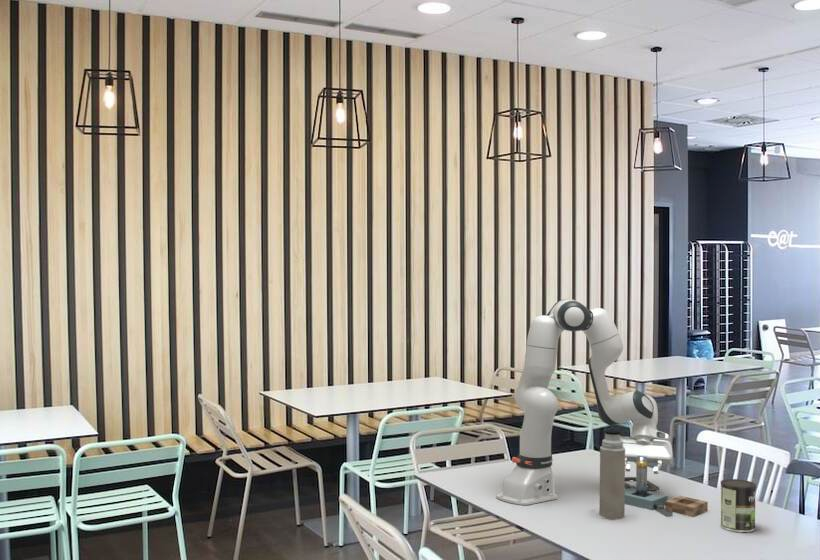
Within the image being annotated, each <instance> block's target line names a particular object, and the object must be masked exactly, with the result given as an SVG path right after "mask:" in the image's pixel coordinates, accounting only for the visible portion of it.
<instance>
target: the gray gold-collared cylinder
mask: <svg viewBox="0 0 820 560" xmlns="http://www.w3.org/2000/svg"><path fill="white" fill-rule="evenodd" d="M635 465H636V466H635V469H636V472H635V475H636V476H635V477H636V481H635V482H636V483H635V487H636V496H641V497H647V480H648V463H647V456H641V455H640V456H636V462H635Z"/></svg>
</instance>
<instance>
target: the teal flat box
mask: <svg viewBox="0 0 820 560" xmlns="http://www.w3.org/2000/svg"><path fill="white" fill-rule="evenodd" d="M668 498H669V497H668V495H667V494H662V493H659V492H658V493H657V492H655V491H653V492H649V491H647V497H641V496H636V488H626V489H625V505H629V506H633V507H638V508H641V507H642V508H641V509H645V508H646V509H647V510H650V511H655V510H654V504H661V505H663V506H664V507H665V501H667V500H668Z"/></svg>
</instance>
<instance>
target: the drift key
mask: <svg viewBox="0 0 820 560" xmlns="http://www.w3.org/2000/svg"><path fill="white" fill-rule="evenodd" d="M653 511H656V512H658V513H660V514H661V515H664V516H665V517H666V518H667V517H668V518H669V517H673V512H671V511H669V510H667V509H665V505H664V506H663V505H661V504H654V510H653Z"/></svg>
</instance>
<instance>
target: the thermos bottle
mask: <svg viewBox="0 0 820 560" xmlns="http://www.w3.org/2000/svg"><path fill="white" fill-rule="evenodd" d="M604 433H605V434H604V438H603V439H602V442H601V446H600V447H599V516H600V517H601V518H603V517H604V518H603V519H607V520H620V519H624V518H625V505H626V504H625V490H626V489H625V487H626V486H625V482H626V481H625V477H626V475H625V473H626V470H625V448H624V447H623V441H622V440H620V436H621V430H618V429H605V431H604Z"/></svg>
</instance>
